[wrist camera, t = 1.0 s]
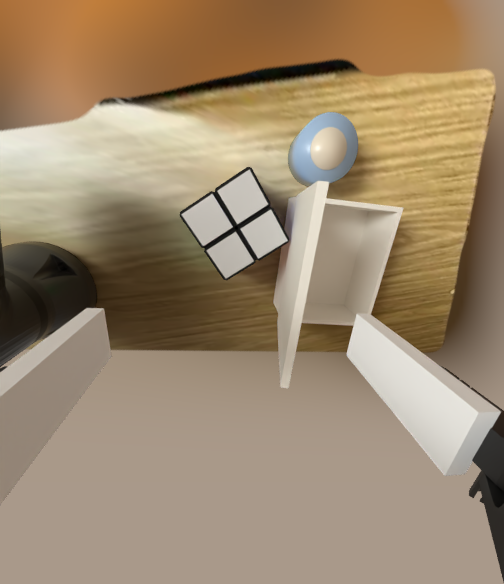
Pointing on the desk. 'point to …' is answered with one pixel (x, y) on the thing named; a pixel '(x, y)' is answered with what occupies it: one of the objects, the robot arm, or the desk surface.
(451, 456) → the robot arm
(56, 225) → the desk surface
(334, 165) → the blue domed cylinder
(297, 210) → the hinged white flap
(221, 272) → the puzzle cube
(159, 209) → the desk surface
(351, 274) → the carton
